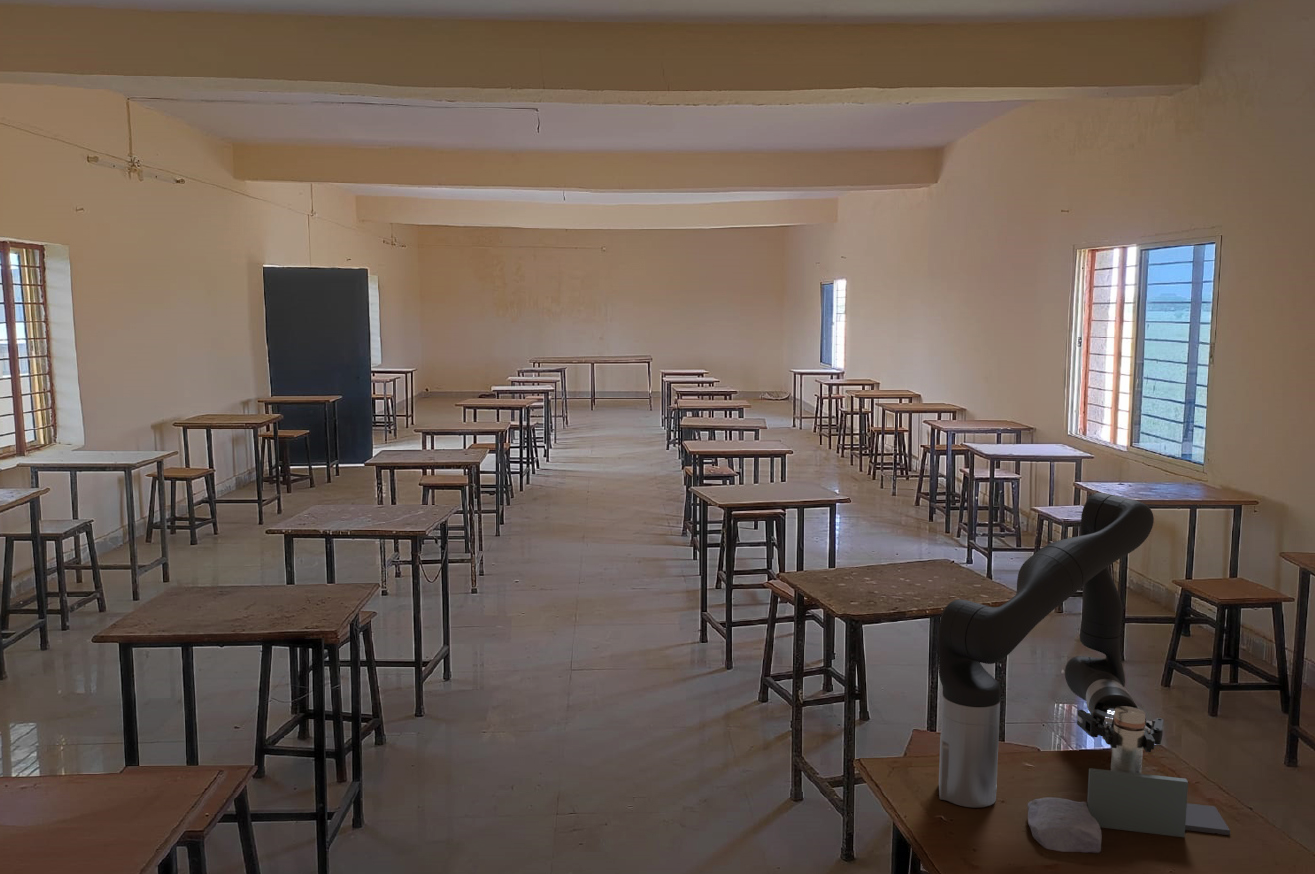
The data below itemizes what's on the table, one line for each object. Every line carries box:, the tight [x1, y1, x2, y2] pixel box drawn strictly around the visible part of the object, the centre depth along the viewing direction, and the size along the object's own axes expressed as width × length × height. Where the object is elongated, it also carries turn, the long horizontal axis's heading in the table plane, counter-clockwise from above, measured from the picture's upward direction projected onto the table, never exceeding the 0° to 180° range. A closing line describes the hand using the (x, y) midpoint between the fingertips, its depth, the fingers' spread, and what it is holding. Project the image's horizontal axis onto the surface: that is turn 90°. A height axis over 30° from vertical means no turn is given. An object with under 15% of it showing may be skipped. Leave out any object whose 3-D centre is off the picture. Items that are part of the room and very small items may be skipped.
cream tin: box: [1110, 706, 1146, 774], centre depth 159 cm, size 5×5×11 cm
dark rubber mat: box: [1185, 802, 1231, 836], centre depth 156 cm, size 8×8×1 cm
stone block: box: [1026, 796, 1103, 854], centre depth 152 cm, size 12×5×10 cm
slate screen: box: [1086, 768, 1189, 838], centre depth 153 cm, size 14×1×9 cm, turn 75°
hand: (1131, 744), depth 156 cm, fingers closed on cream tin, 4 cm apart
